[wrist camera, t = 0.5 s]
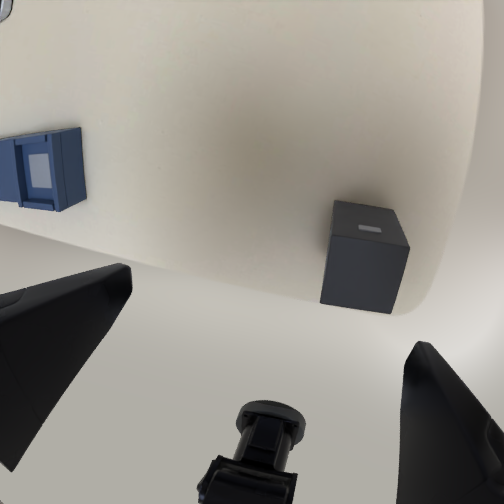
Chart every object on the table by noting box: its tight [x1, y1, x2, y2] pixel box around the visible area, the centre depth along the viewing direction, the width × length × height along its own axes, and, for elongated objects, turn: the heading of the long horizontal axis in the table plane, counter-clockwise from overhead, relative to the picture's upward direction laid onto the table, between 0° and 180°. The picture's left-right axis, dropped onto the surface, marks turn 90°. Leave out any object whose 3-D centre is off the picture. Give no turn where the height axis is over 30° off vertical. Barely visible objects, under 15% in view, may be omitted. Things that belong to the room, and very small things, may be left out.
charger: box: [320, 201, 410, 314], centre depth 18 cm, size 4×4×6 cm
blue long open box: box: [0, 127, 86, 212], centre depth 25 cm, size 6×20×4 cm, turn 88°
